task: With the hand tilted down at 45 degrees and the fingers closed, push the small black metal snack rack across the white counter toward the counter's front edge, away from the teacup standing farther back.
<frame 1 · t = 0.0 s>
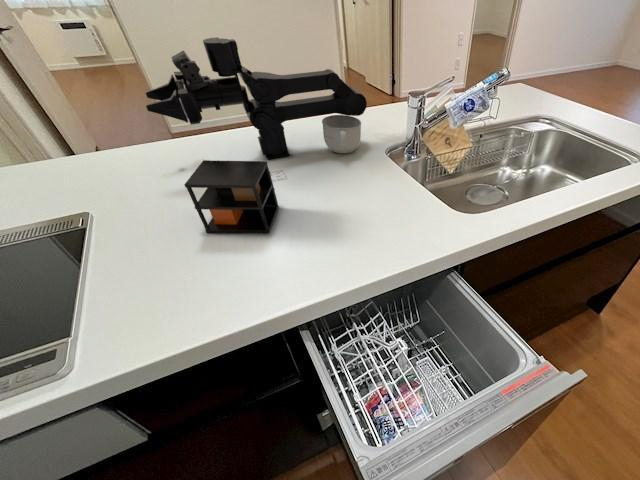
hand: (146, 101, 78), 16 cm above the worktop, tool horizontal, fingers open, 9 cm apart
teacup: (343, 152, 101), on the worktop, touching arm
snack rack: (244, 219, 76), on the worktop
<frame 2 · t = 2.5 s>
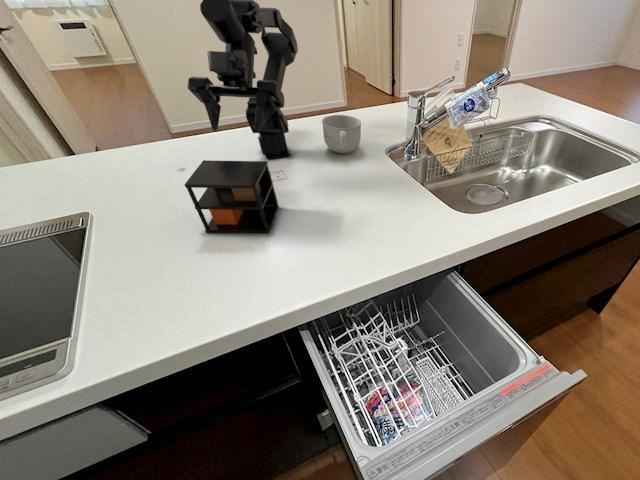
hand: (235, 131, 75), 14 cm above the worktop, tool tilted 50°, fingers open, 9 cm apart
teacup: (343, 152, 101), on the worktop
everything else where it was.
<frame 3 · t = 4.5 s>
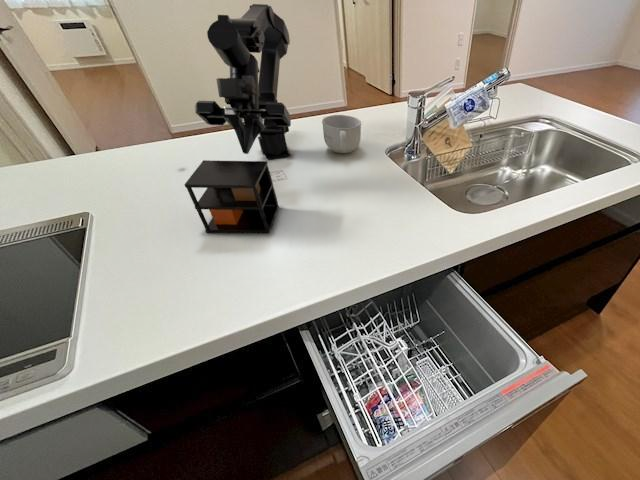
hand: (245, 153, 76), 10 cm above the worktop, tool tilted 45°, fingers closed
nothing on the worktop moved.
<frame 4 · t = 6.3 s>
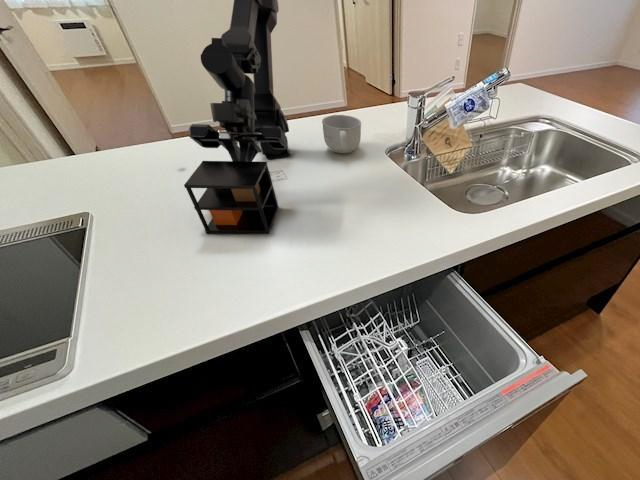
hand: (240, 177, 74), 7 cm above the worktop, tool tilted 45°, fingers closed, pressing on snack rack
snack rack: (244, 220, 76), on the worktop, touching gripper
everything else where it was.
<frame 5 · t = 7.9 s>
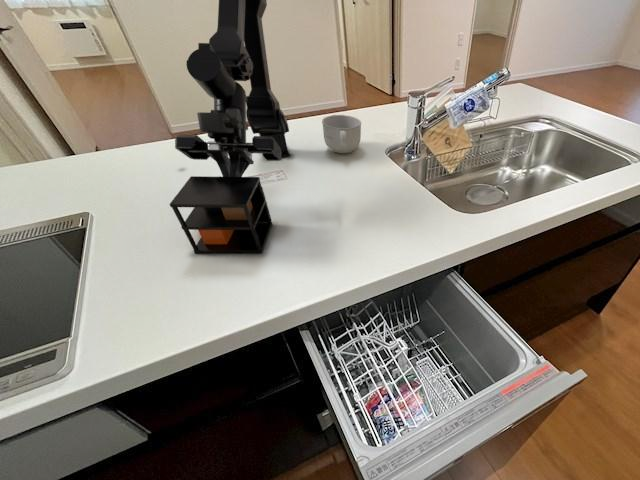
hand: (231, 191, 69), 8 cm above the worktop, tool tilted 45°, fingers closed, pressing on snack rack
snack rack: (235, 238, 71), on the worktop, touching gripper
everything else where it was.
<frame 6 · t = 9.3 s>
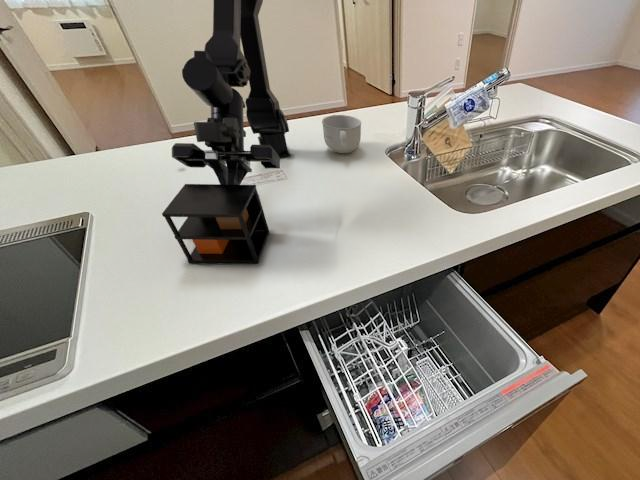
hand: (229, 200, 68), 7 cm above the worktop, tool tilted 45°, fingers closed
snack rack: (231, 247, 69), on the worktop
everything else where it was.
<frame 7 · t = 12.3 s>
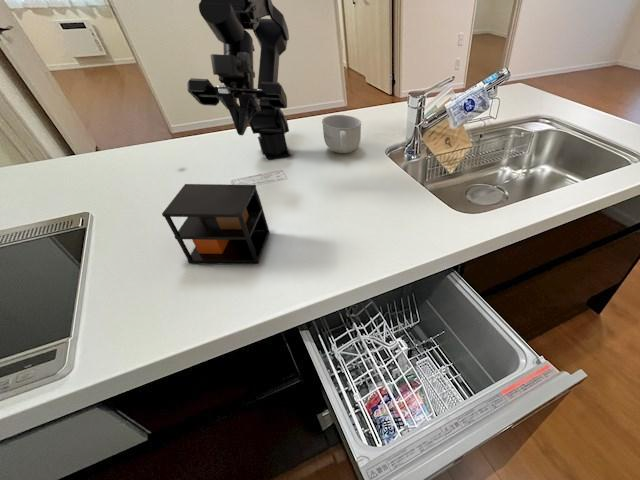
hand: (240, 134, 74), 14 cm above the worktop, tool tilted 45°, fingers closed
nothing on the worktop moved.
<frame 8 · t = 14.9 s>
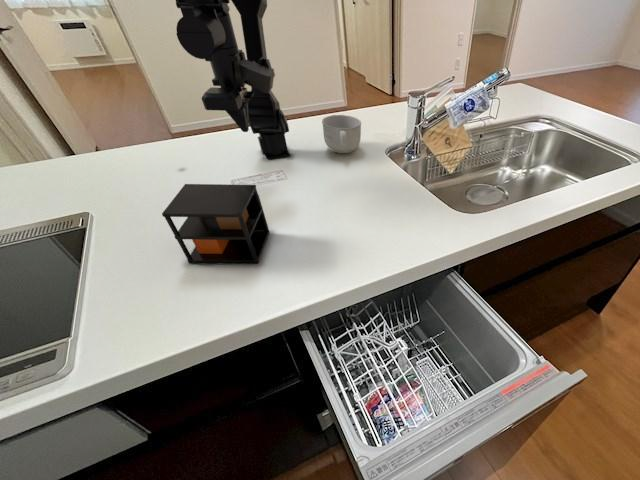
hand: (245, 131, 77), 13 cm above the worktop, tool pointing down, fingers closed
nothing on the worktop moved.
at the end: snack rack moved 9.7 cm from its start; snack rack tilted 0° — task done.
